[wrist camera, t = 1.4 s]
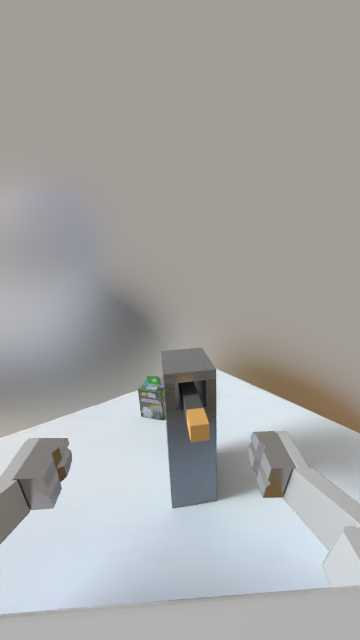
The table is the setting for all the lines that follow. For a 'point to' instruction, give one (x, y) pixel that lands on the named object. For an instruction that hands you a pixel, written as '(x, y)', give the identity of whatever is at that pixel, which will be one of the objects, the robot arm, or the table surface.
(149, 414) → the chalk box
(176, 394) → the housing
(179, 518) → the table surface
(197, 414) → the plug rod
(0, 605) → the table surface
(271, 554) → the table surface
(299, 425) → the table surface
